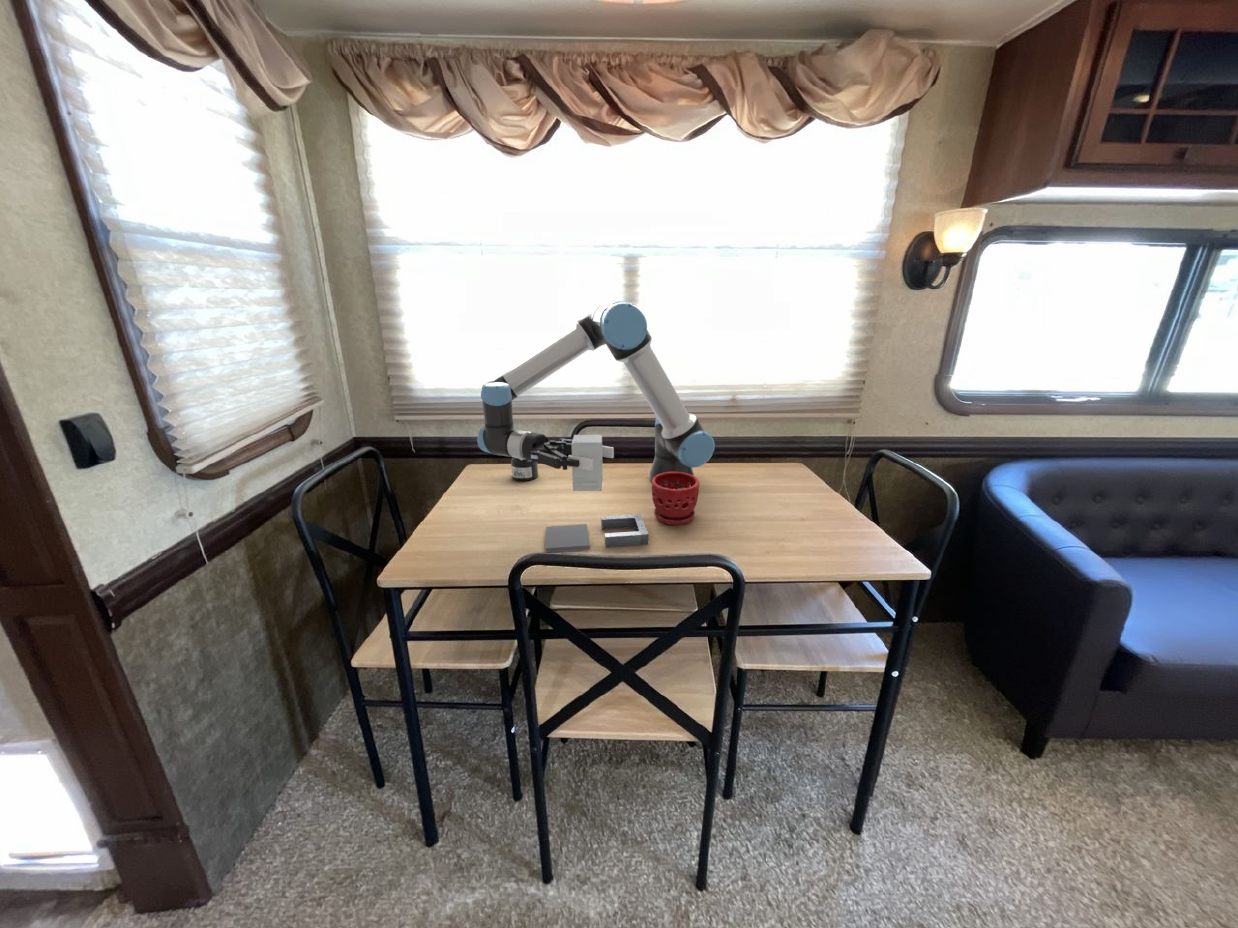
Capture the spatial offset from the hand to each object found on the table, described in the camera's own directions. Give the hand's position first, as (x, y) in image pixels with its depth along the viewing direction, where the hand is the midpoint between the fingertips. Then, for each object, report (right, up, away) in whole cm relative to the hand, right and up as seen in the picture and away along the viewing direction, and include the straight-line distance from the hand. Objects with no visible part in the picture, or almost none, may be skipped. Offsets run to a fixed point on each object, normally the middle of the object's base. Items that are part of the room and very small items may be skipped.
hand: (603, 458), depth 120 cm
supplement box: (-4, -7, +5) cm, 9 cm away
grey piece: (+5, -20, +11) cm, 23 cm away
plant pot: (+20, -17, +20) cm, 33 cm away
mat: (-10, -21, +9) cm, 25 cm away
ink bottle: (-29, -6, +53) cm, 60 cm away
